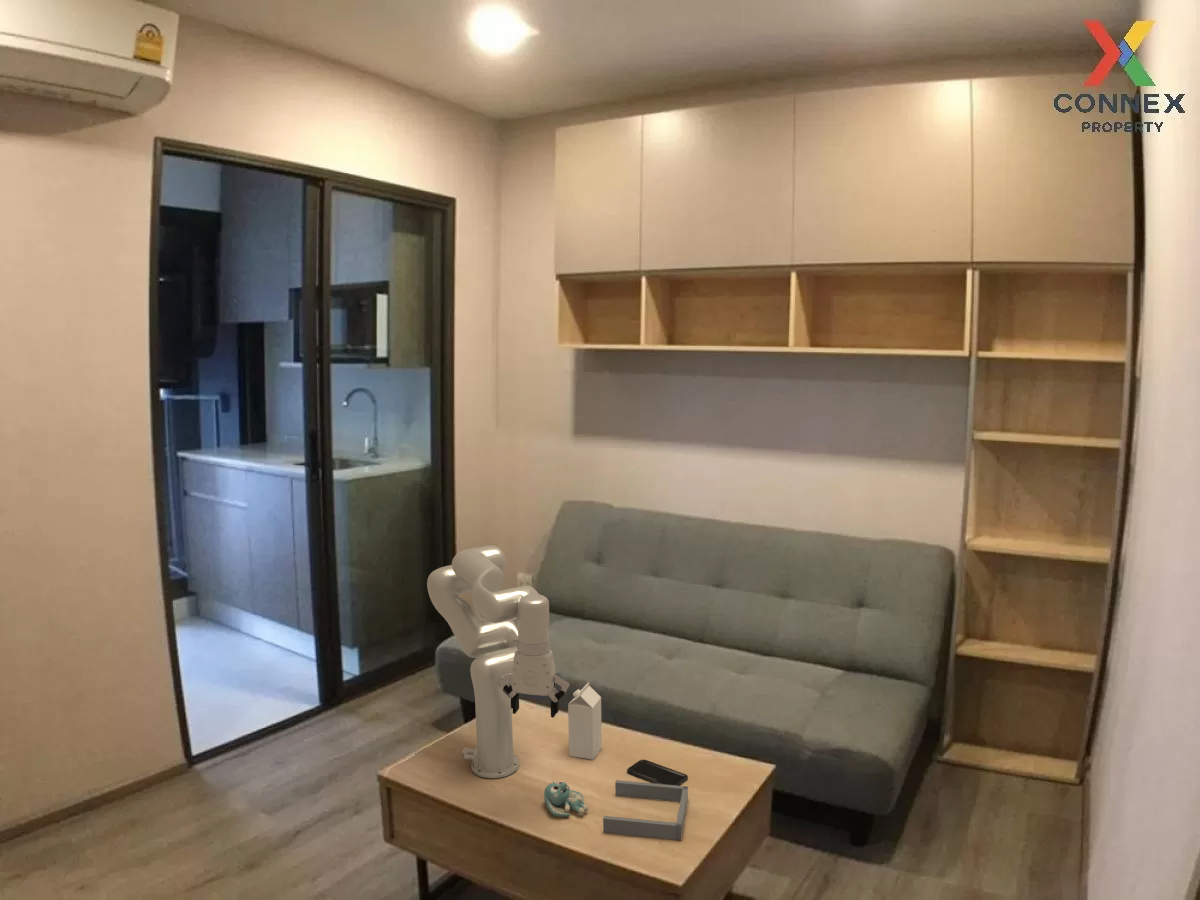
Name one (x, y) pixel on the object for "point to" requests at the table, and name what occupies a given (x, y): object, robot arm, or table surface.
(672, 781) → the phone
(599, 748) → the milk carton
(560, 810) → the stuffed animal
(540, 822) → the table surface
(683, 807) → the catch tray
